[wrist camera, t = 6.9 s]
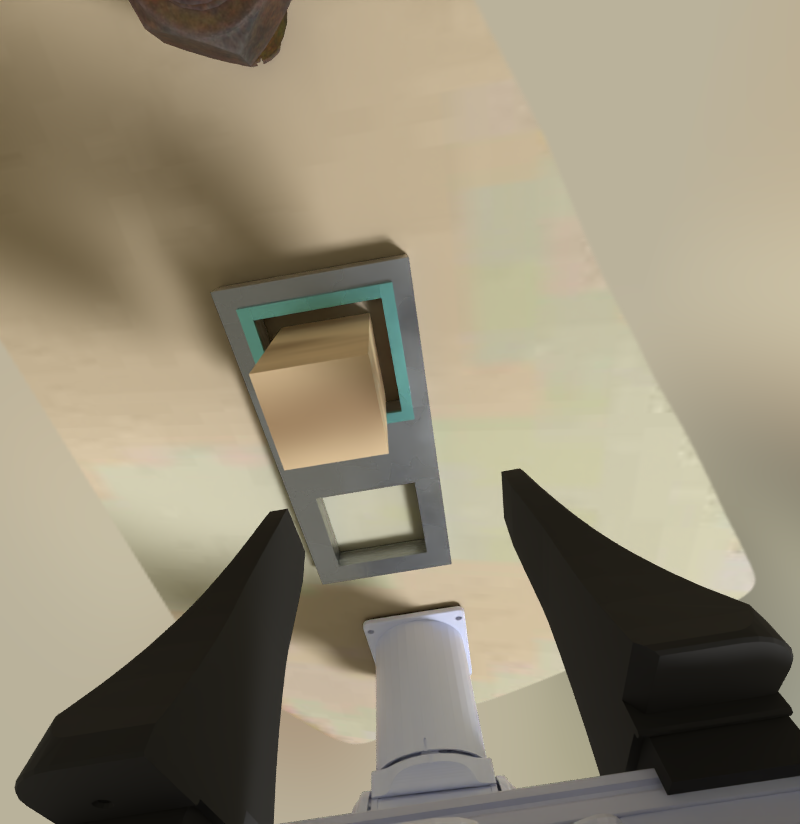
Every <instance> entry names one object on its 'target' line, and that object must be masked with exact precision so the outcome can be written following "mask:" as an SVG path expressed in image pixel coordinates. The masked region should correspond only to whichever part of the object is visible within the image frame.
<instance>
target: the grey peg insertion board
mask: <svg viewBox="0 0 800 824" xmlns="http://www.w3.org/2000/svg"><path fill="white" fill-rule="evenodd" d="M210 293H211V295H212V298H213V301H214V303H215V306H216V308H217V311H218V314H219V316H220V319H221V321H222V324H223V327H224V329H225V332H226V334H227V337H228V340H229V342H230V345H231V347H232V350H233V353H234V355H235V358H236V360H237V363H238V366H239V368H240V371H241V373H242V376H243V379H244V381H245V384H246V386H247V389H248V392H249V394H250V397H251V399H252V402H253V405H254V407H255V410H256V412H257V415H258V418H259V420H260V423H261V425H262V428H263V431H264V433H265V436H266V438H267V441H268V444H269V446H270V449H271V451H272V454H273V457H274V459H275V462H276V464H277V467H278V470H279V472H280V475H281V477H282V480H283V483H284V485H285V488H286V490H287V493H288V496H289V498H290V501H291V503H292V506H293V509H294V511H295V514H296V516H297V519H298V522H299V524H300V527H301V529H302V532H303V535H304V537H305V540H306V542H307V545H308V548H309V550H310V553H311V555H312V558H313V561H314V563H315V566H316V568H317V571H318V574H319V576H320V579H321V581H322V584H329V583H335V582H341V581H348V580H354V579H360V578H367V577H373V576H379V575H385V574H392V573H398V572H404V571H411V570H417V569H423V568H430V567H436V566H442V565H449V564H451V556H450V549H449V542H448V535H447V528H446V521H445V513H444V506H443V499H442V492H441V485H440V478H439V470H438V463H437V456H436V449H435V442H434V435H433V427H432V420H431V413H430V406H429V399H428V392H427V384H426V377H425V370H424V363H423V356H422V349H421V341H420V334H419V327H418V320H417V313H416V306H415V298H414V291H413V284H412V277H411V270H410V263H409V257H408V255H407V254H402V255H396V256H391V257H385V258H379V259H374V260H368V261H363V262H357V263H351V264H346V265H340V266H335V267H329V268H323V269H318V270H312V271H307V272H301V273H295V274H290V275H284V276H279V277H273V278H267V279H262V280H256V281H251V282H245V283H239V284H234V285H228V286H222V287H219V288H217V289H215V290H214V291H212V292H210ZM378 298H382V304H383V309H384V315H385V320H386V326H387V331H388V337H389V343H390V348H391V354H392V359H393V365H394V370H395V376H396V382H397V387H398V393H399V398H400V400H395V401H389V402H386V417H387V433H388V450H389V454H383V455H377V456H371V457H364V458H358V459H352V460H346V461H340V462H334V463H328V464H321V465H315V466H309V467H303V468H297V469H291V470H284V468H283V465H282V463H281V460H280V457H279V455H278V452H277V449H276V446H275V444H274V441H273V438H272V436H271V433H270V430H269V427H268V425H267V422H266V419H265V417H264V414H263V411H262V408H261V406H260V403H259V400H258V398H257V395H256V392H255V390H254V387H253V384H252V381H251V379H250V376H249V373H250V372H251V370H252V369H253V368H254V366H255V365H256V363H257V362H258V360H259V359H260V358H261V356H262V355H263V353H264V352H265V351H266V349H267V348H268V346H269V345H270V343H271V342H270V339H269V336H268V333H267V330H266V327H265V324H264V321H263V319H265V318H270V317H276V316H282V315H287V314H293V313H299V312H304V311H310V310H316V309H321V308H327V307H333V306H338V305H344V304H350V303H356V302H361V301H367V300H373V299H378ZM414 482H415V487H416V493H417V498H418V504H419V509H420V515H421V520H422V526H423V532H424V537H425V539H420V540H414V541H408V542H401V543H395V544H389V545H383V546H376V547H370V548H364V549H358V550H351V551H345V552H340V550H339V547H338V544H337V541H336V538H335V535H334V532H333V529H332V526H331V523H330V520H329V517H328V514H327V511H326V508H325V505H324V502H323V499H322V498H323V497H329V496H335V495H341V494H347V493H353V492H359V491H366V490H372V489H378V488H384V487H390V486H396V485H402V484H408V483H414Z"/></svg>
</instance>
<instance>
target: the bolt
mask: <svg viewBox="0 0 800 824" xmlns="http://www.w3.org/2000/svg"><path fill="white" fill-rule="evenodd" d="M129 2H130V3H131V5H132V7H133V9H134V10H135V12H136V14H137V16H138V17H139V19H140V21H141V23H142V24H143V26H144V28H145V29H146V30H147V31H149V32H150V33H151V34H153V35H154V36H156V37H157V38H158V39H160V40H161V41H162V42H164V43H166V44H169V45H172V46H175V47H178V48H181V49H183V50H186V51H189V52H193V53H196V54H199V55H203V56H206V57H210V58H213V59H217V60H221V61H225V62H229V63H234V64H240V65H243V66H249V67H254V66H257V64H256V63H259V62H260V58H262V61H263V63H264V64H265V63H267V62H269V61H271V60H272V59H273V58H274V57H275V56H276V55H277V54H278V53H279V51H280V46H281V41H282V39H283V37H284V33H285V29H286V25H287V9H288V7H289V4H290V2H291V0H129Z"/></svg>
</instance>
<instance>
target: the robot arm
mask: <svg viewBox="0 0 800 824" xmlns="http://www.w3.org/2000/svg"><path fill="white" fill-rule="evenodd" d="M501 473H502V490H503V507H504V519H505V522H506V525H507V528H508V531H509V534H510V537H511V540H512V543H513V546H514V548H515V550H516V552H517V555H518V557H519V559H520V561H521V563H522V565H523V568H524V570H525V572H526V574H527V576H528V578H529V580H530V582H531V585H532V587H533V589H534V591H535V593H536V595H537V597H538V599H539V602H540V604H541V606H542V608H543V610H544V613H545V615H546V617H547V620H548V622H549V625H550V628H551V630H552V633H553V636H554V639H555V641H556V644H557V647H558V650H559V652H560V655H561V658H562V661H563V664H564V667H565V670H566V673H567V675H568V678H569V681H570V684H571V687H572V690H573V693H574V696H575V699H576V702H577V705H578V708H579V711H580V714H581V717H582V720H583V723H584V726H585V729H586V732H587V735H588V738H589V742H590V745H591V748H592V751H593V754H594V757H595V760H596V764H597V767H598V770H599V773H600V776H597V777H590V778H584V779H577V780H570V781H564V782H558V783H550V784H543V785H537V786H530V787H523V788H517V789H516V788H515V787H514V786H513V785H512V784H511V783H510V782H509V781H508V779H507V778H506V777H505V776H504V775H500V776H496V777H495V774H494V769H493V764H492V759H491V758H489V757H488V758H487V757H486V752H485V747H484V742H483V737H482V733H481V727H480V723H479V717H478V712H477V707H476V702H475V697H474V692H473V687H472V682H471V677H470V675H471V674H472V669H471V661H470V653H469V645H468V637H467V629H466V622H465V614H464V609H463V608H462V607H460V606H455V607H448V608H442V609H435V610H429V611H422V612H416V613H410V614H403V615H397V616H390V617H384V618H378V619H371V620H366V621H365V622H364V623H363V629H364V632H365V635H366V638H367V641H368V644H369V647H370V650H371V653H372V656H373V659H374V662H375V665H376V760H377V761H376V763H377V765H376V771H372V782H371V784H372V785H371V788H372V789H371V790H372V791H364V792H362V794H361V795H360V798H359V800H358V801H357V803H356V805H355V806H354V808H353V811H352V813H349V814H342V815H335V816H329V817H322V818H315V819H308V820H302V821H296V822H288V823H282V824H800V729H799V728H798V727H797V726H796V725H795V723H794V722H793V721H792V720H791V718H790V717H789V716H791V715H792V713H793V711H792V709H791V707H790V705H789V704H788V703H787V702H786V701H785V699H784V698H783V697H782V696H781V694H780V693H779V692H778V690H779V689H780V687H781V685H782V683H783V681H784V679H785V677H786V676H787V674H788V672H789V670H790V668H791V665H792V661H793V654H792V649H791V647H790V646H789V645H788V644H787V643H786V642H785V641H784V640H783V639H782V638H781V636H780V635H779V634H778V633H777V632H776V631H775V630H774V629H773V628H772V626H771V625H770V624H769V623H768V622H767V621H766V620H765V619H764V618H763V617H762V616H761V615H760V614H758V613H757V612H756V611H755V610H754V609H753V608H752V607H751V606H750V605H749V604H746V603H743V602H741V601H738V600H736V599H733V598H731V597H728V596H726V595H723V594H720V593H718V592H715V591H713V590H710V589H707V588H705V587H702V586H700V585H698V584H695V583H693V582H691V581H689V580H687V579H684V578H682V577H680V576H678V575H675V574H673V573H671V572H669V571H667V570H665V569H663V568H661V567H659V566H657V565H655V564H653V563H651V562H649V561H647V560H645V559H643V558H642V557H640V556H638V555H636V554H634V553H632V552H630V551H629V550H627V549H625V548H623V547H622V546H620V545H618V544H617V543H615V542H613V541H612V540H610V539H609V538H607V537H605V536H604V535H602V534H601V533H599V532H598V531H596V530H595V529H593V528H592V527H591V526H589V525H588V524H586V523H585V522H584V521H582V520H581V519H579V518H578V517H577V516H575V515H574V514H573V513H572V512H570V511H569V510H568V509H566V508H565V507H564V506H563V505H562V504H560V503H559V502H558V501H557V500H555V499H554V498H553V497H552V496H551V495H549V494H548V493H547V492H546V491H545V490H544V489H543V488H541V487H540V486H539V485H538V484H537V483H536V482H535V481H534V480H533V479H531V478H530V477H529V476H528V475H527V474H526V473H525V472H524V471H523V470H521V469H514V470H508V471H503V472H501ZM304 560H305V550H304V548H303V545H302V543H301V540H300V538H299V535H298V533H297V531H296V528H295V526H294V523H293V521H292V518H291V516H290V513H289V511H288V509H283V510H277V511H271V512H269V514H268V515H267V516H266V517H265V519H264V520H263V521H262V523H261V524H260V525H259V526H258V528H257V529H256V530H255V532H254V533H253V534H252V536H251V537H250V538H249V540H248V541H247V542H246V544H245V545H244V546H243V547H242V549H241V550H240V551H239V552H238V554H237V555H236V556H235V558H234V559H233V560H232V561H231V563H230V564H229V565H228V566H227V567H226V568H225V570H224V571H223V572H222V573H221V574H220V575H219V577H218V578H217V579H216V580H215V581H214V582H213V584H212V585H211V586H210V587H209V588H208V589H207V590H206V591H205V593H204V594H203V595H202V596H201V597H200V598H199V599H198V600H197V601H196V602H195V603H194V604H193V605H192V606H191V607H190V608H189V609H188V610H187V611H186V612H185V613H184V614H183V615H182V616H181V617H180V618H179V619H178V620H177V621H176V622H175V623H174V624H173V625H172V626H170V627H169V628H168V629H167V630H166V631H165V632H164V633H163V634H162V635H160V636H159V637H158V638H157V639H156V640H155V641H154V642H153V643H152V644H151V645H150V646H148V647H147V648H146V649H145V650H144V651H142V652H141V653H140V654H139V655H137V656H136V657H135V658H134V659H133V660H131V661H130V662H129V663H128V664H127V665H125V666H124V667H123V668H121V669H120V670H119V671H118V672H116V673H115V674H114V675H113V676H111V677H110V678H109V679H107V680H106V681H105V682H104V683H102V684H101V685H99V686H98V687H97V688H95V689H94V690H92V691H91V692H89V693H88V694H87V695H85V696H84V697H83V698H81V699H80V700H78V701H77V702H76V703H74V704H73V705H71V706H70V707H69V708H67V709H66V710H64V711H63V712H61V713H60V714H58V715H57V716H56V717H55V719H54V720H53V722H52V723H51V725H50V727H49V728H48V730H47V732H46V733H45V735H44V737H43V738H42V740H41V742H40V743H39V744H38V746H37V748H36V749H35V751H34V753H33V754H32V756H31V758H30V759H29V761H28V763H27V764H26V766H25V767H24V769H23V770H22V772H21V774H20V775H19V777H18V779H17V780H16V784H15V791H16V794H17V796H18V798H19V799H20V801H22V802H23V803H24V804H25V805H26V806H28V807H29V808H31V809H33V810H34V811H36V812H37V813H39V814H41V815H42V816H44V817H45V818H47V819H49V820H50V821H52V822H53V823H55V824H274V803H275V782H276V766H277V751H278V738H279V726H280V715H281V704H282V694H283V686H284V677H285V668H286V661H287V655H288V649H289V645H290V640H291V635H292V630H293V626H294V621H295V616H296V612H297V607H298V602H299V597H300V592H301V587H302V582H303V573H304Z"/></svg>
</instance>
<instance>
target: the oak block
mask: <svg viewBox="0 0 800 824" xmlns="http://www.w3.org/2000/svg"><path fill="white" fill-rule="evenodd" d="M249 376H250V379H251V381H252V384H253V387H254V390H255V392H256V395H257V398H258V400H259V403H260V406H261V408H262V411H263V414H264V417H265V419H266V422H267V425H268V427H269V430H270V433H271V436H272V438H273V441H274V444H275V446H276V449H277V452H278V455H279V457H280V460H281V463H282V465H283V468H284V470H291V469H297V468H303V467H309V466H315V465H321V464H328V463H334V462H340V461H346V460H352V459H358V458H364V457H371V456H377V455H383V454H389V450H388V433H387V417H386V400H385V390H384V385H383V379H382V374H381V369H380V364H379V359H378V353H377V348H376V343H375V338H374V333H373V327H372V322H371V317H370V313H365V314H359V315H353V316H347V317H341V318H335V319H329V320H323V321H318V322H312V323H306V324H300V325H294V326H288V327H282V328H281V329H280V331H279V332H278V333H277V335H276V336H275V338H274V339H273V341H272V342H271V343H270V345H269V346H268V348H267V349H266V351H265V352H264V353H263V355H262V356H261V358H260V359H259V360H258V362H257V363H256V365H255V366H254V368H253V369H252V370H251V372H250V373H249Z"/></svg>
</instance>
